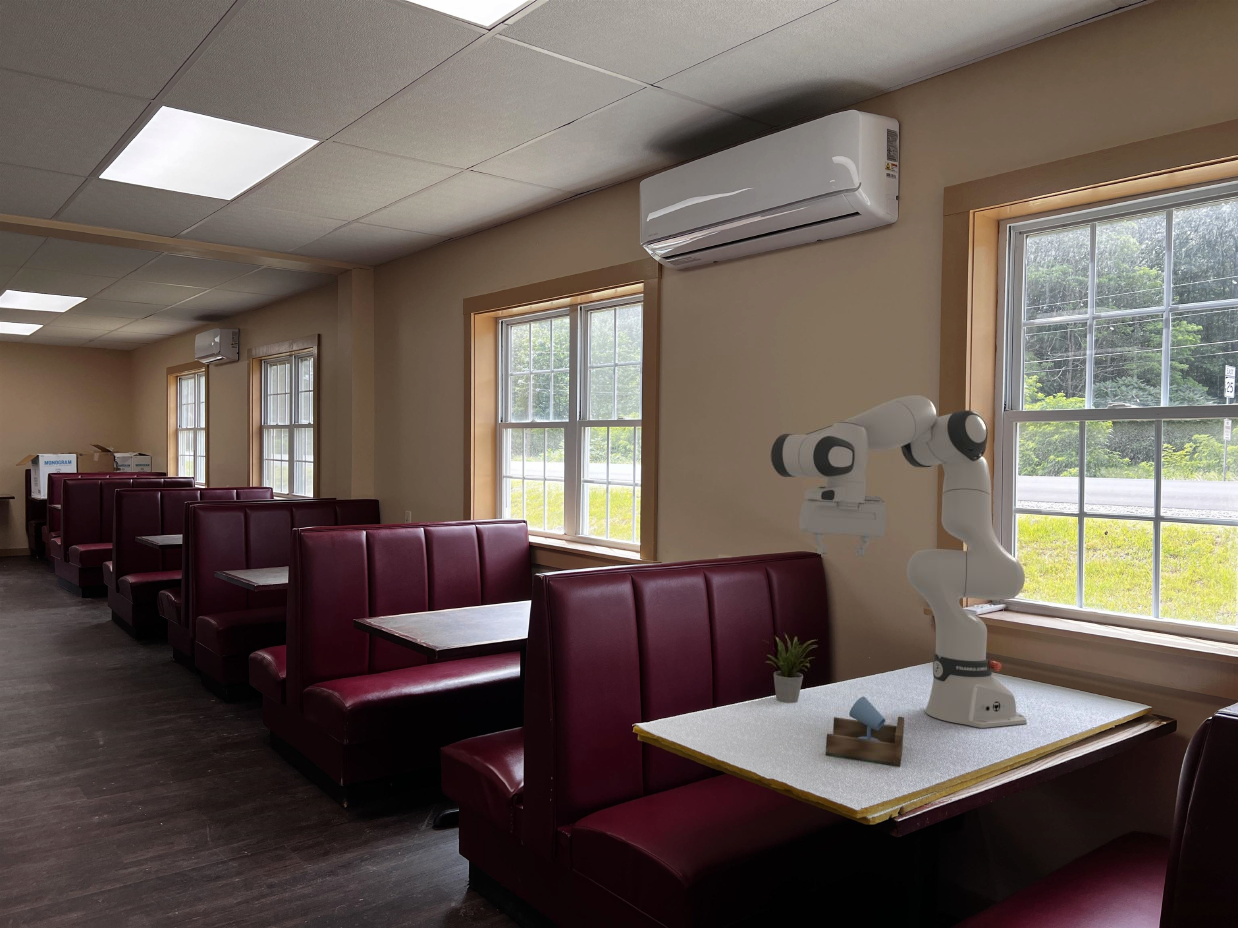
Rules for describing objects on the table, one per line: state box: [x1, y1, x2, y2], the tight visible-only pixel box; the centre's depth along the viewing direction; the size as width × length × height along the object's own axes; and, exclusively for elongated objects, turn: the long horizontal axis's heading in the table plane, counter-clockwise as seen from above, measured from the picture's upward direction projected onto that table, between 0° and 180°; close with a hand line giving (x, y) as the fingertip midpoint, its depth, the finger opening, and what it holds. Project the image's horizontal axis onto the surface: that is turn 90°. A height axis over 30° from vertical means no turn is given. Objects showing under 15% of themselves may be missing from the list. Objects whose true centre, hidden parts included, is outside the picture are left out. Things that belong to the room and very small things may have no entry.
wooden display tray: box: [825, 716, 905, 768], centre depth 176 cm, size 14×14×6 cm
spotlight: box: [848, 696, 886, 741], centre depth 176 cm, size 5×10×7 cm
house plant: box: [763, 632, 818, 704], centre depth 212 cm, size 14×14×16 cm
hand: (840, 554), depth 199 cm, fingers open, 8 cm apart
